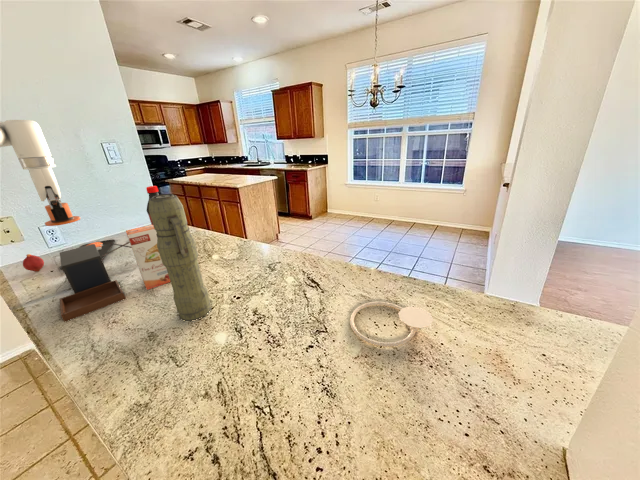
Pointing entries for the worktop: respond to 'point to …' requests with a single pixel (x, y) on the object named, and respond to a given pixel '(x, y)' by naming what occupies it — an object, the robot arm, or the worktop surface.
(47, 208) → the hat
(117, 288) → the tray
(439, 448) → the worktop surface
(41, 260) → the onion
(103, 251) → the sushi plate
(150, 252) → the cracker box
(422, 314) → the hand towel holder
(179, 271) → the thermos
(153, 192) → the cola bottle
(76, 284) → the charcoal grey box
